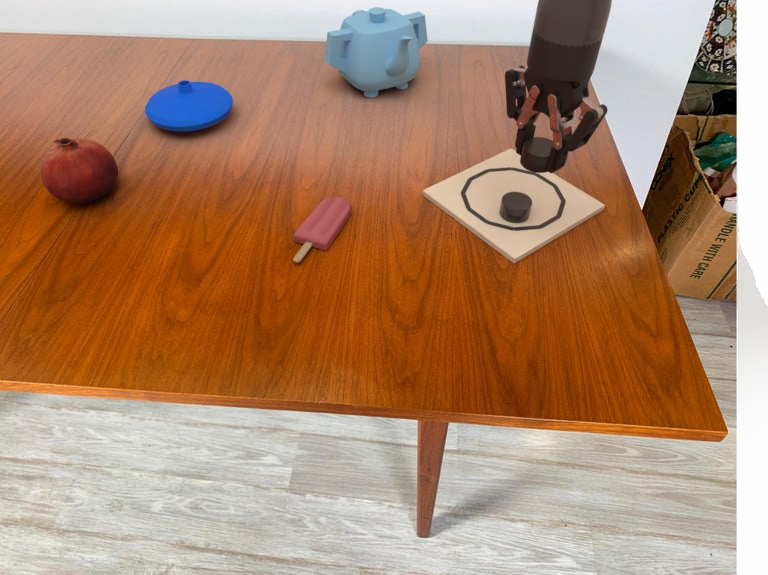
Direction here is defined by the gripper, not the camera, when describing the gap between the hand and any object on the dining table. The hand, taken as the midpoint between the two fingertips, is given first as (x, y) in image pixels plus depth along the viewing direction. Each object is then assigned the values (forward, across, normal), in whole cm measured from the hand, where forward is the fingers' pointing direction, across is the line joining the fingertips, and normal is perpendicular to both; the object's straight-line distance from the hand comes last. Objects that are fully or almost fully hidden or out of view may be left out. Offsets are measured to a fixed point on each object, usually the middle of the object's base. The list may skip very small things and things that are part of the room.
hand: (537, 160), depth 75 cm
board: (+14, +7, -6) cm, 16 cm away
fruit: (+14, +50, +46) cm, 69 cm away
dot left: (+13, +4, -3) cm, 14 cm away
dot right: (0, 0, 0) cm, 0 cm away
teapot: (+14, +50, -13) cm, 53 cm away
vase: (+14, +61, +22) cm, 67 cm away
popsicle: (+14, +19, +22) cm, 32 cm away
